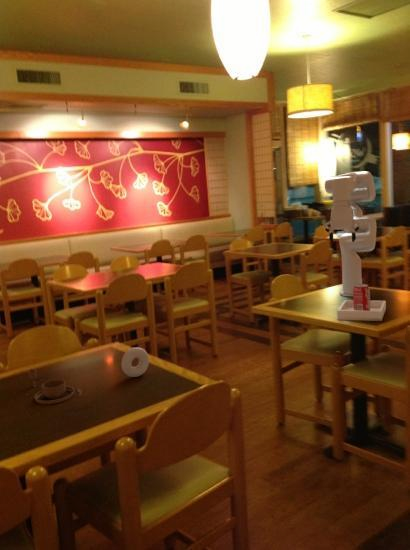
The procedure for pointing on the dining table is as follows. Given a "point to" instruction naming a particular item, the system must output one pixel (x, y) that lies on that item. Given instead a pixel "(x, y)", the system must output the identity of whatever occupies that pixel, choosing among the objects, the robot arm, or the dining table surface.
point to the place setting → (52, 390)
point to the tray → (349, 313)
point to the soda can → (361, 297)
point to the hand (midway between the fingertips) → (342, 241)
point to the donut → (141, 365)
